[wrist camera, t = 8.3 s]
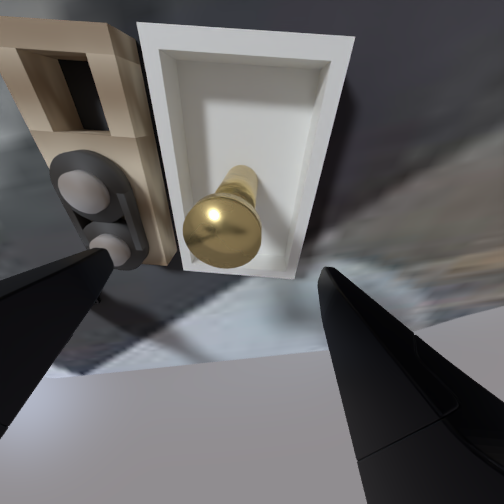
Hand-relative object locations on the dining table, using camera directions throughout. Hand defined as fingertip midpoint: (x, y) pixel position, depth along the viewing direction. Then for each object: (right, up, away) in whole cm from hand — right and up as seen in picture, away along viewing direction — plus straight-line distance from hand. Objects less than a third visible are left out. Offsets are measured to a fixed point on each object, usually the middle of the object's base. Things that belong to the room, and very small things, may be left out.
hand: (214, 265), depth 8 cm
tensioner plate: (-11, +8, +11) cm, 18 cm away
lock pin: (+1, +7, +10) cm, 12 cm away
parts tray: (+1, +7, +10) cm, 13 cm away
